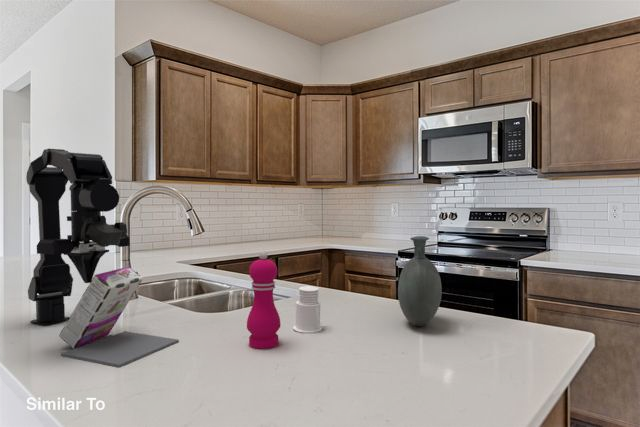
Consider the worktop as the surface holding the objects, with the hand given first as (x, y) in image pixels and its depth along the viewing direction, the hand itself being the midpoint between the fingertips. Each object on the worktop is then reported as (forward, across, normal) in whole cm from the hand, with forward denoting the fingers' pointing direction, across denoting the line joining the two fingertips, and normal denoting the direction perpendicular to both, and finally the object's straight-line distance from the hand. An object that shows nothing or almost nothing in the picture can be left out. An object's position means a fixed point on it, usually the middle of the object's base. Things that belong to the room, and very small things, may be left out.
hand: (87, 282), depth 96 cm
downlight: (+14, +28, -40) cm, 51 cm away
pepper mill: (+14, +14, -36) cm, 41 cm away
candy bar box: (+12, 0, +2) cm, 12 cm away
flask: (+14, +42, -64) cm, 78 cm away
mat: (+13, 0, -10) cm, 17 cm away
